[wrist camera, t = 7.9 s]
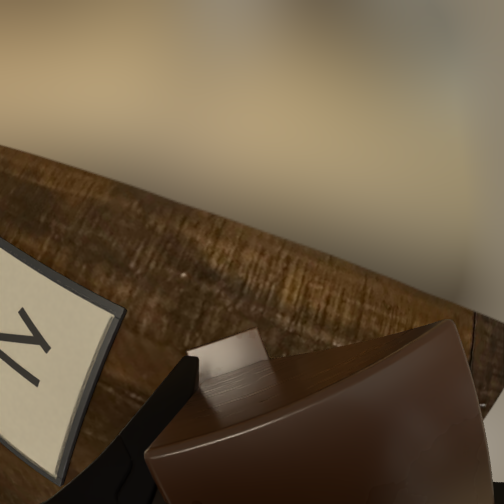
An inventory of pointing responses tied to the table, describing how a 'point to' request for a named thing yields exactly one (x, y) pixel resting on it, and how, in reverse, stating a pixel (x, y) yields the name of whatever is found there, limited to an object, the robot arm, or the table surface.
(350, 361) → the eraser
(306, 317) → the table surface
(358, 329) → the table surface
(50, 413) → the whiteboard
